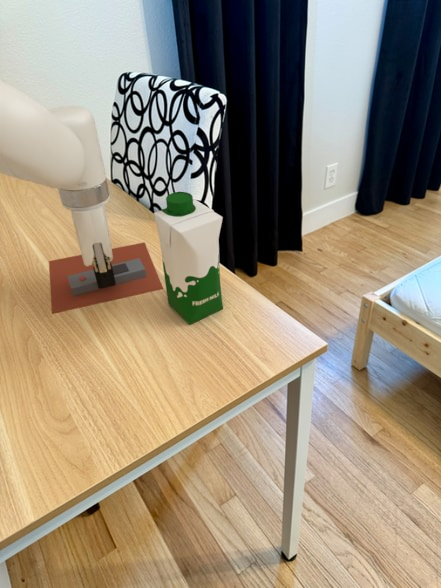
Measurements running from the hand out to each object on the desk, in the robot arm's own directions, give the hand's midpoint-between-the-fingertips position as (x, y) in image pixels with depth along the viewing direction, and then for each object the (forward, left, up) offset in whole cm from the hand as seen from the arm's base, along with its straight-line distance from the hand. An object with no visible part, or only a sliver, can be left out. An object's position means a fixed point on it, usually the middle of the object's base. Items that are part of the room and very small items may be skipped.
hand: (106, 284), depth 79 cm
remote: (0, +3, -1) cm, 4 cm away
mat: (0, +6, -1) cm, 6 cm away
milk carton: (+14, -11, -2) cm, 17 cm away
